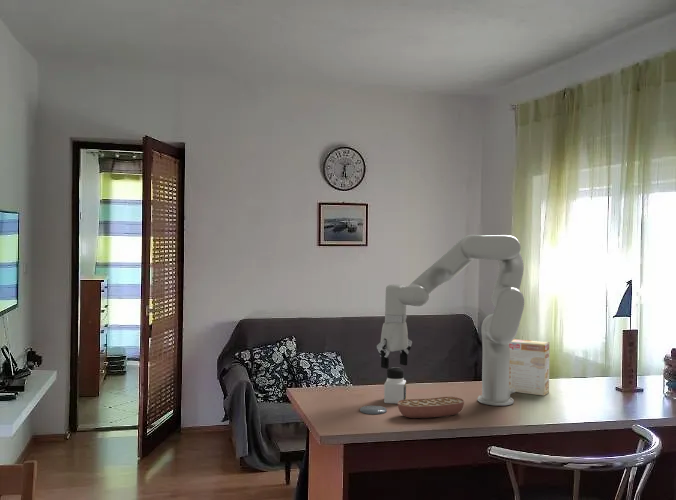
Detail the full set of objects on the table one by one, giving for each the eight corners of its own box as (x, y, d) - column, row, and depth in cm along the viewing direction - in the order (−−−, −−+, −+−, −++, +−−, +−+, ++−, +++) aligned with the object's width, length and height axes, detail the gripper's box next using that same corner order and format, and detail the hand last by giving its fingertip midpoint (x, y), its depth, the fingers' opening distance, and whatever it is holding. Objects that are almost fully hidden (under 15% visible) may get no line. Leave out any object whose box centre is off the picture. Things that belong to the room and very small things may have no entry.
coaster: (373, 405, 229) (373, 404, 229) (392, 411, 222) (392, 409, 222) (354, 410, 223) (354, 408, 223) (373, 415, 216) (373, 414, 216)
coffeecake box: (549, 392, 249) (550, 341, 249) (544, 396, 243) (545, 344, 243) (510, 387, 257) (511, 338, 257) (505, 391, 251) (505, 340, 251)
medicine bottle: (404, 404, 231) (404, 370, 231) (384, 403, 232) (384, 369, 232) (406, 399, 238) (406, 366, 238) (386, 398, 239) (386, 365, 239)
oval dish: (456, 410, 224) (456, 395, 224) (469, 418, 215) (469, 403, 214) (393, 414, 218) (393, 400, 218) (404, 423, 209) (404, 407, 208)
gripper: (404, 316, 243) (403, 362, 243) (370, 319, 232) (369, 367, 232) (419, 318, 237) (418, 365, 238) (386, 322, 226) (384, 371, 226)
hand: (394, 366), depth 235 cm, fingers open, 9 cm apart
